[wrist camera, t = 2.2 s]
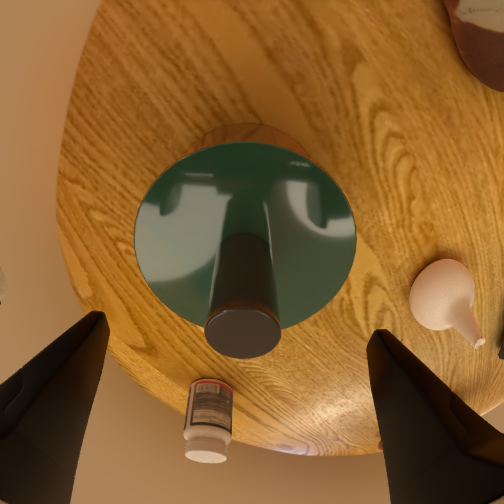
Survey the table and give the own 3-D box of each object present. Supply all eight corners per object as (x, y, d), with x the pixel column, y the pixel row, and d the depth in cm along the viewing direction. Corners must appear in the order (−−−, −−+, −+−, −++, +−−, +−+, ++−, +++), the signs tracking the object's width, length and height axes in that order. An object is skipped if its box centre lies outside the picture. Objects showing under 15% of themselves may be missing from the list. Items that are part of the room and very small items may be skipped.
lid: (151, 311, 16) (125, 396, 12) (136, 131, 11) (63, 176, 6) (323, 323, 17) (343, 408, 12) (370, 152, 12) (441, 208, 7)
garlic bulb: (403, 318, 25) (435, 387, 19) (404, 265, 22) (448, 338, 15) (458, 297, 24) (497, 358, 17) (465, 244, 21) (518, 305, 14)
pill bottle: (216, 403, 32) (211, 467, 25) (181, 388, 31) (171, 455, 24) (242, 388, 31) (241, 458, 23) (206, 371, 29) (198, 446, 22)
